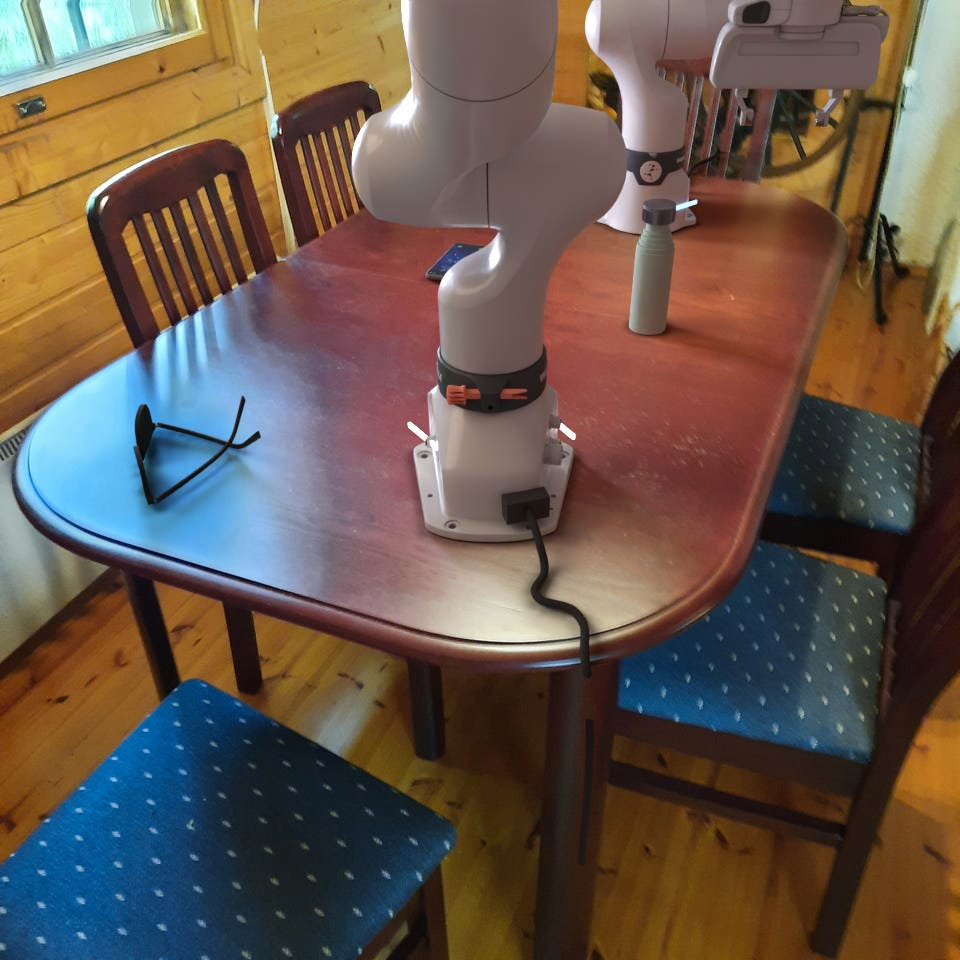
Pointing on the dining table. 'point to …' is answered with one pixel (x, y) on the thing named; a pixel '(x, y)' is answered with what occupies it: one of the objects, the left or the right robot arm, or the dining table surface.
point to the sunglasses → (147, 427)
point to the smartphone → (451, 259)
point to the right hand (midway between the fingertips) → (782, 125)
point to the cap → (659, 211)
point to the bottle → (652, 280)
